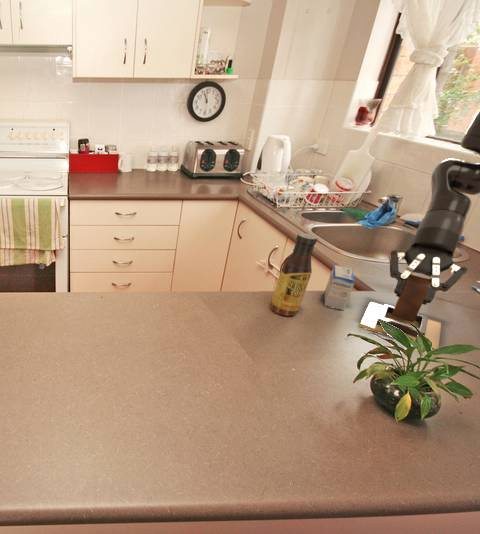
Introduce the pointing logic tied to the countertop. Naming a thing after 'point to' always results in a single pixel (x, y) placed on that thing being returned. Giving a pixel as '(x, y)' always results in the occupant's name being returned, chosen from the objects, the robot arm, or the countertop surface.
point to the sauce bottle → (294, 277)
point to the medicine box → (339, 287)
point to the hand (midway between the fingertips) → (411, 299)
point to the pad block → (411, 298)
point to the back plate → (400, 323)
